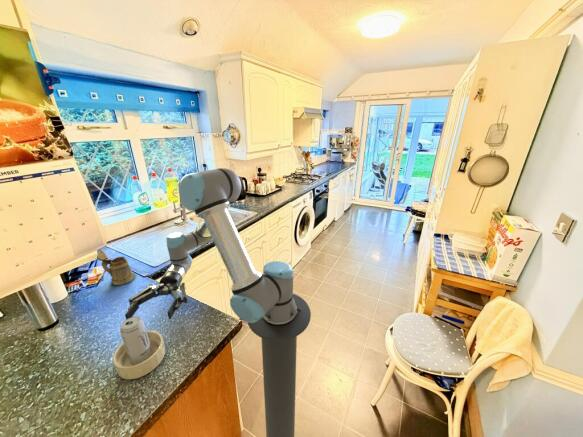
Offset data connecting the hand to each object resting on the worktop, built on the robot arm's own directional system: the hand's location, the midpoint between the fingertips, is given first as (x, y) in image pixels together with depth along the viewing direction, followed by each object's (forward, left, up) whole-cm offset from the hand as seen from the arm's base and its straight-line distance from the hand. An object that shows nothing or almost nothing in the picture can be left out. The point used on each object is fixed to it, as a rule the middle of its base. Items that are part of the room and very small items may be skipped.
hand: (148, 316), depth 79 cm
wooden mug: (+30, -39, -10) cm, 50 cm away
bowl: (+1, +8, -10) cm, 13 cm away
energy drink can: (+1, +8, -10) cm, 12 cm away
